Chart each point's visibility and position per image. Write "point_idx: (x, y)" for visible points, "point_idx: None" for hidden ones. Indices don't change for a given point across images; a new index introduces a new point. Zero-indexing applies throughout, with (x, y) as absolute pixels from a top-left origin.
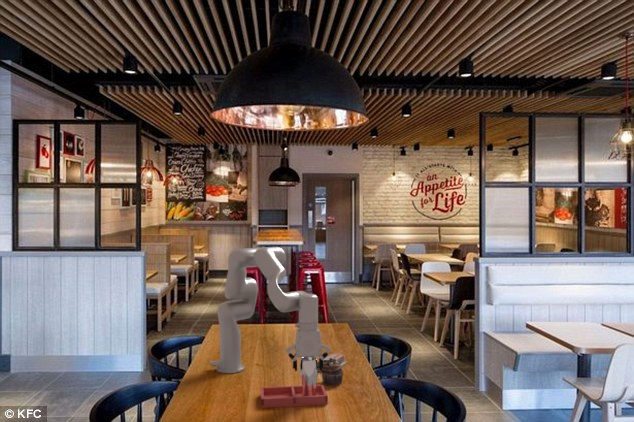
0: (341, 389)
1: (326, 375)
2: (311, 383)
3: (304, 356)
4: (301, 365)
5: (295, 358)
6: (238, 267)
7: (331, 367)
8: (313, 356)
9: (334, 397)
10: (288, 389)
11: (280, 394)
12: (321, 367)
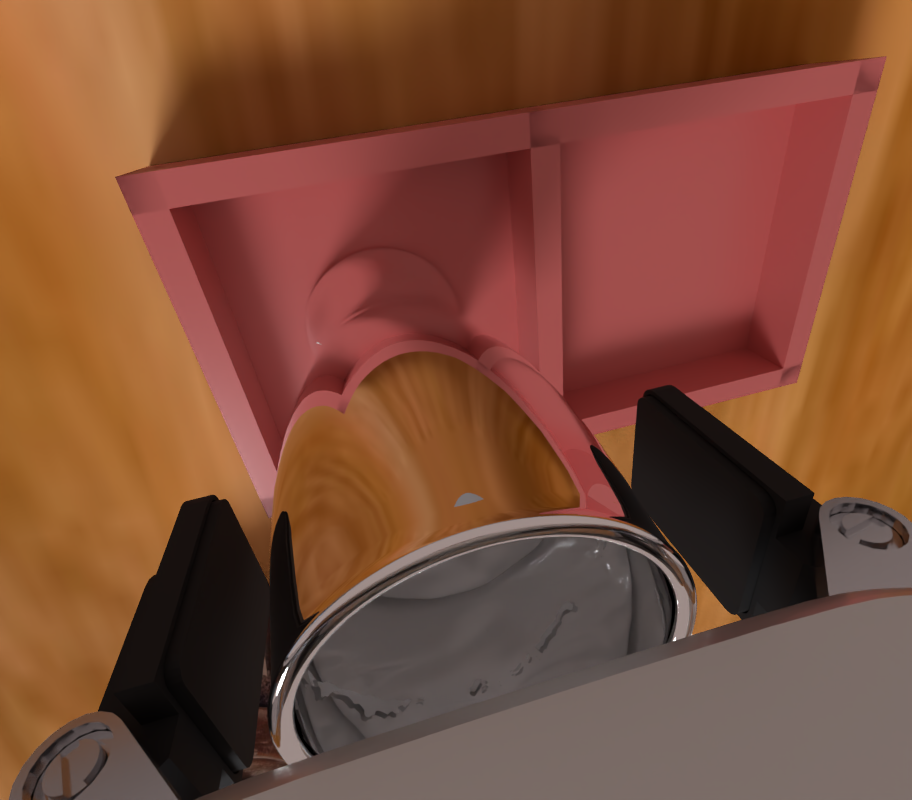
0: (121, 554)
1: (269, 670)
2: (363, 314)
3: (713, 636)
4: (616, 468)
5: (866, 556)
6: None
7: None
8: (368, 739)
9: (130, 376)
10: (575, 407)
11: (626, 353)
12: (174, 539)
